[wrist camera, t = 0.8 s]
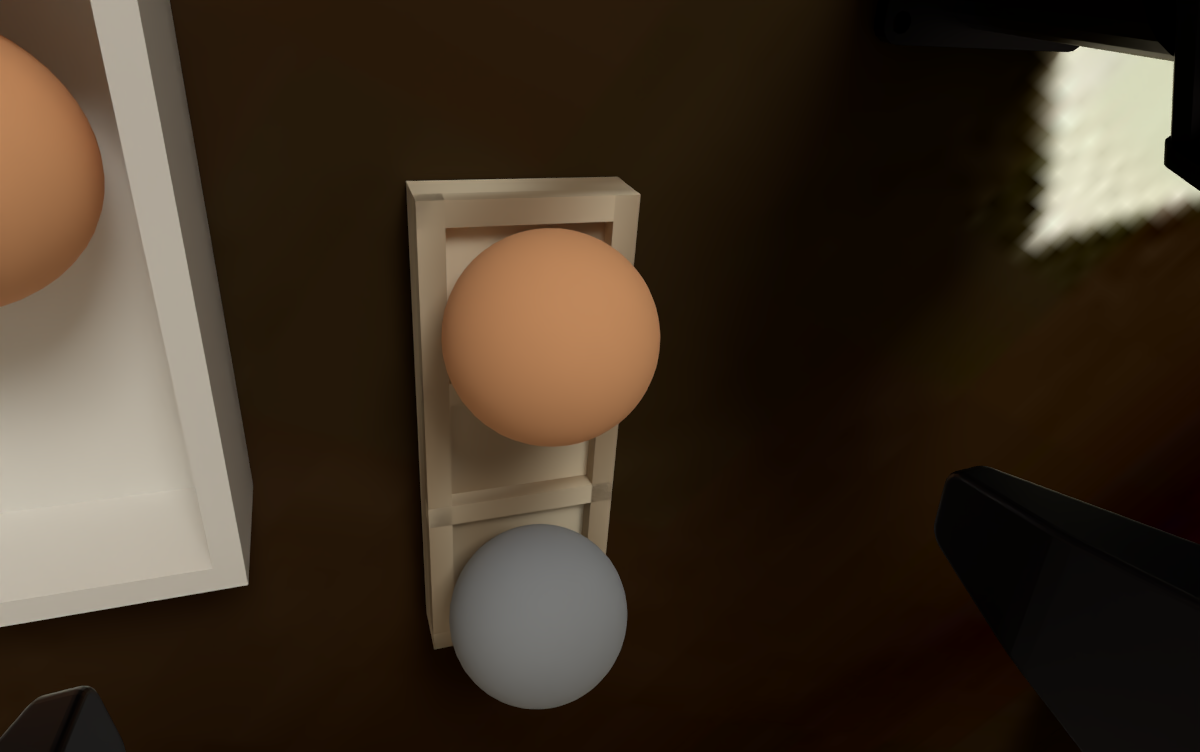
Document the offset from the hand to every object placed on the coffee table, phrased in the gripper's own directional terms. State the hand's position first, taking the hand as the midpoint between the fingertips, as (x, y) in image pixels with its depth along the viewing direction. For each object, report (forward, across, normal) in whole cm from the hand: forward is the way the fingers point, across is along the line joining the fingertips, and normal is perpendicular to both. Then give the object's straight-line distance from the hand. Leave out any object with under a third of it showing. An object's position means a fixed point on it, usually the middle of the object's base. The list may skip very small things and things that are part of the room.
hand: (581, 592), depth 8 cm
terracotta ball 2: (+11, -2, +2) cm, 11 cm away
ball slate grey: (+11, -1, +10) cm, 15 cm away
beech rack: (+12, -2, +6) cm, 13 cm away
